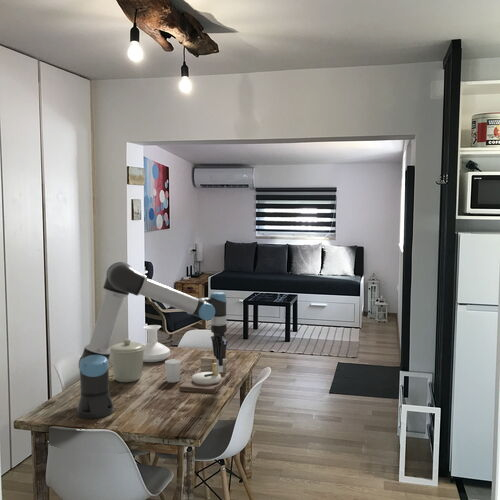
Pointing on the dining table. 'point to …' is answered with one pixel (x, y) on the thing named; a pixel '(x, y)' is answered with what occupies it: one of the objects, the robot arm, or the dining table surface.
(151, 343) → the white vase
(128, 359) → the canister
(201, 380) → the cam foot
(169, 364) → the white cup
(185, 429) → the dining table surface
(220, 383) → the stand
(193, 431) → the dining table surface
